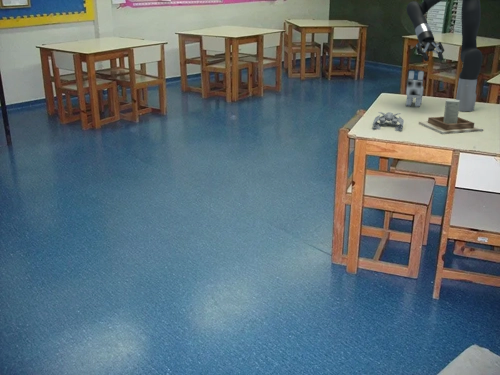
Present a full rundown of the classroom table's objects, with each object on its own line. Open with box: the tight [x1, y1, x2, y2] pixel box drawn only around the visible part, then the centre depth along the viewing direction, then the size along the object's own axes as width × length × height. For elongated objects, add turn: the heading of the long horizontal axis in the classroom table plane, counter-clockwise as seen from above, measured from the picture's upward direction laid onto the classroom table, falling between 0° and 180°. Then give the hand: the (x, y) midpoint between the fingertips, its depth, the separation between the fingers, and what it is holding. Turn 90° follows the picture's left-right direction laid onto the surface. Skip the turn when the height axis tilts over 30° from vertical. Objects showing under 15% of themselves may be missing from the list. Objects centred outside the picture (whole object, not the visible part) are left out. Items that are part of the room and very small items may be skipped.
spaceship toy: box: [372, 111, 405, 132], centre depth 255 cm, size 14×20×6 cm
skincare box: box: [443, 98, 460, 124], centre depth 252 cm, size 6×4×12 cm
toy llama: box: [405, 70, 425, 108], centre depth 297 cm, size 8×18×20 cm, turn 157°
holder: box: [418, 116, 484, 135], centre depth 254 cm, size 22×20×4 cm
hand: (434, 59), depth 268 cm, fingers open, 8 cm apart
